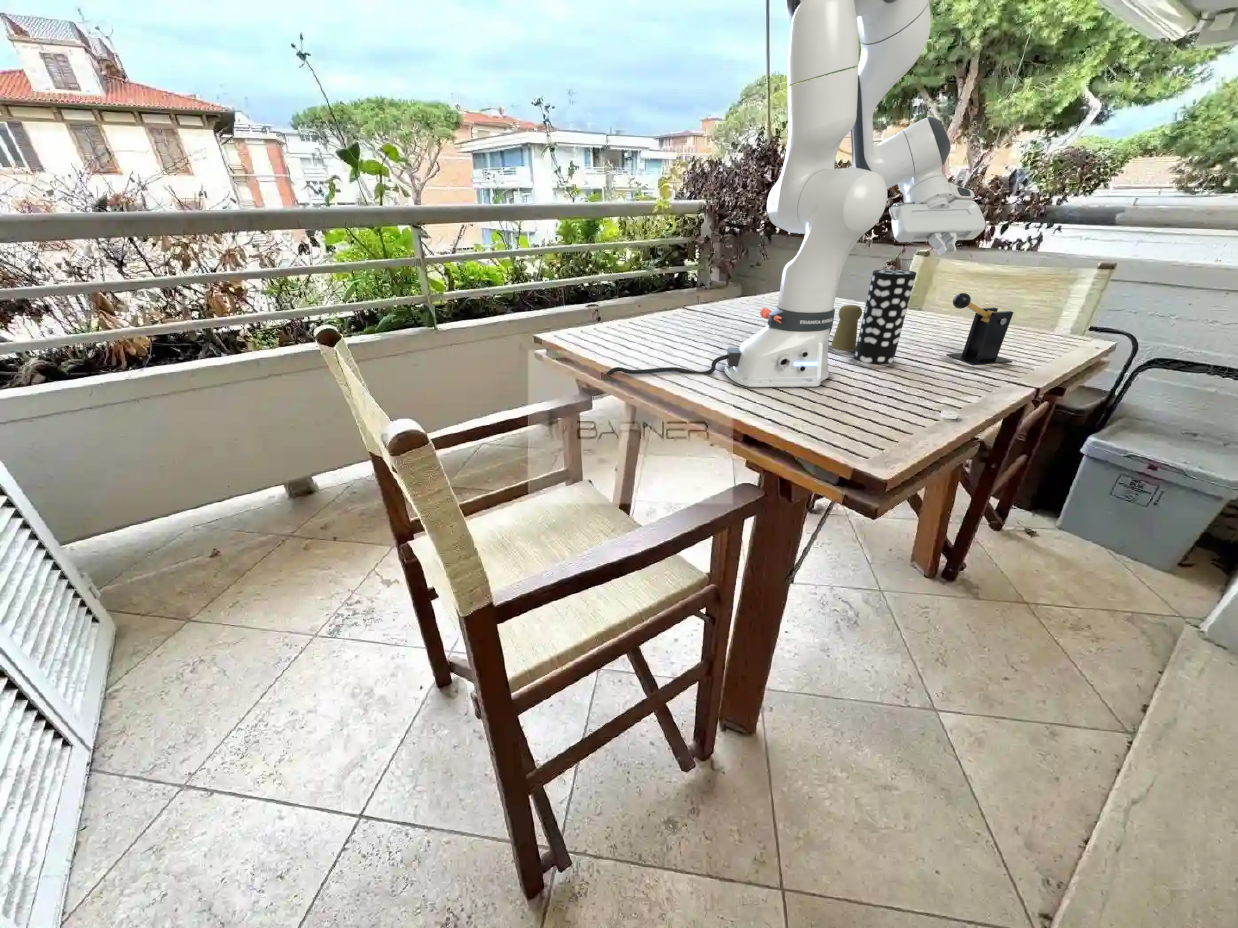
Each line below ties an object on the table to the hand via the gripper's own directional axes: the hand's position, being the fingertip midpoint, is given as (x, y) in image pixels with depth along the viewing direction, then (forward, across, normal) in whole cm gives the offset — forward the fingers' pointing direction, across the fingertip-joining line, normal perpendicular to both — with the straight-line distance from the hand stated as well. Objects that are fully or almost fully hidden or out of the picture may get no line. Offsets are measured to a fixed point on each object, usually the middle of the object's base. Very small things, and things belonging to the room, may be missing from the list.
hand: (948, 253), depth 106 cm
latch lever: (+14, +4, +3) cm, 15 cm away
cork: (+10, -15, +22) cm, 29 cm away
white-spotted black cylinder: (+18, -14, +15) cm, 27 cm away
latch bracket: (+22, +9, +11) cm, 26 cm away
